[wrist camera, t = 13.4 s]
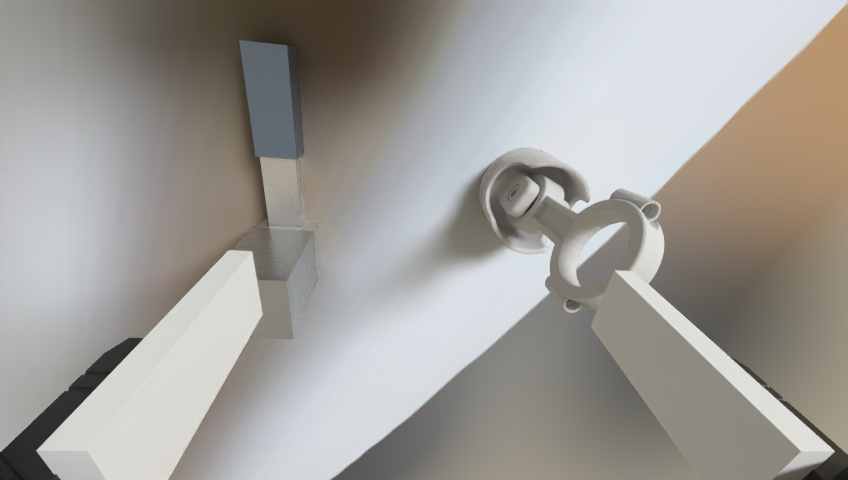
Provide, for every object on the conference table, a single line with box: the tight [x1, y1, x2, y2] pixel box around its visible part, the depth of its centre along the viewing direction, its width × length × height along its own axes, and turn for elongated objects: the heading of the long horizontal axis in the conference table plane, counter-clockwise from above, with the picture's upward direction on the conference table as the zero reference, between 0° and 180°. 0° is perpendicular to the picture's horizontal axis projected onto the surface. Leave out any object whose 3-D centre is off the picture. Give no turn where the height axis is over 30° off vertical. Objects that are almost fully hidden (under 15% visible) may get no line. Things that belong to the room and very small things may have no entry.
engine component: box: [479, 148, 664, 312], centre depth 30 cm, size 11×20×10 cm
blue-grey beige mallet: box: [239, 40, 320, 270], centre depth 33 cm, size 24×6×8 cm, turn 175°
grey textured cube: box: [232, 227, 318, 339], centre depth 34 cm, size 7×7×10 cm
